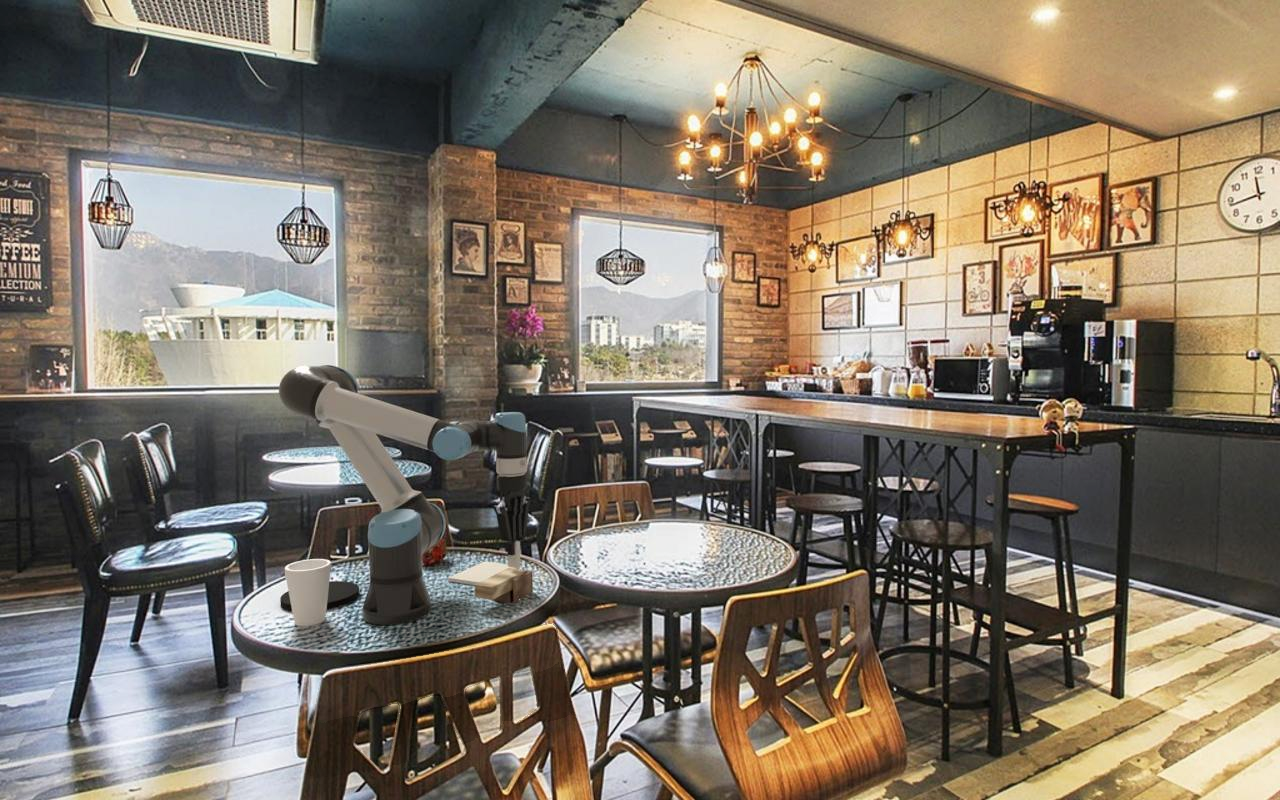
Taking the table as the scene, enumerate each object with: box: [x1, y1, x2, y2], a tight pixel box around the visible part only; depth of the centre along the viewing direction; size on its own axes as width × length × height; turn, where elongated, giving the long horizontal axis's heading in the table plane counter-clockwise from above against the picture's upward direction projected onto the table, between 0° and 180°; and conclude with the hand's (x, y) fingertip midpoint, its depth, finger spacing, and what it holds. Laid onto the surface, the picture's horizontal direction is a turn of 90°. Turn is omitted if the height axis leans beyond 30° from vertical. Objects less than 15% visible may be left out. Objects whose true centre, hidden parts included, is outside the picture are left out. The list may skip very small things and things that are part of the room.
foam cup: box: [284, 558, 332, 627], centre depth 155 cm, size 10×9×13 cm
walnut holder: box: [491, 568, 534, 604], centre depth 170 cm, size 9×7×6 cm
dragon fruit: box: [422, 537, 449, 567], centre depth 199 cm, size 8×8×12 cm
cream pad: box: [447, 561, 521, 586], centre depth 187 cm, size 16×12×1 cm
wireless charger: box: [279, 580, 360, 613], centre depth 170 cm, size 18×18×2 cm
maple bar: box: [474, 568, 527, 601], centre depth 166 cm, size 14×5×3 cm, turn 156°
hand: (514, 566), depth 171 cm, fingers closed
